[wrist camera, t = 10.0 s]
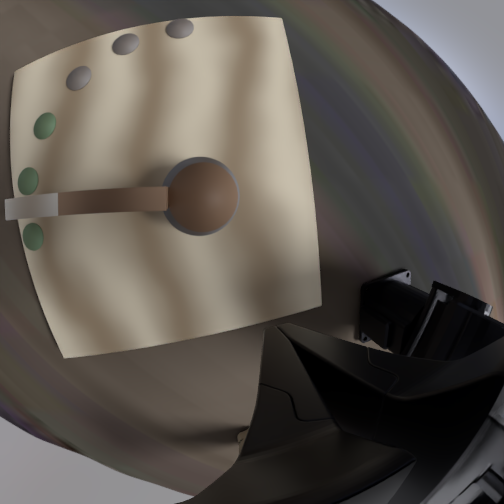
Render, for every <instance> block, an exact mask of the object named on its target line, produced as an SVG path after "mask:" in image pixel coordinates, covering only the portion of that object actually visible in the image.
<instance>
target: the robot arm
mask: <svg viewBox="0 0 504 504" xmlns="http://www.w3.org/2000/svg"><path fill="white" fill-rule="evenodd" d="M406 274H407V275H406ZM410 280H411V272H410V271H409V270H407V269H406V270H403V271H400V272H397V273H394V274H391V275H389V276H386V277H383V278H380V279H377V280H374V281H371V282H368V283H365V284H363V286H362V287H361V309H360V334H359V340H360V341H361V342H362V343H365V342H368V341H370V340H373V341H374V342H375V343H376V344H378V345H379V346H380V347H382V348H383V349H388V350H390V351H391V352H392V353H389V352H385V351H381V350H377V349H373V348H370V347H368V348H367V347H366V346H362V345H359V344H355V343H352V342H348V341H345V340H342V339H338V338H335V337H332V336H328V335H325V334H322V333H319V332H315V331H312V330H309V329H306V328H303V327H300V326H297V325H294V324H291V323H284V324H280V325H277V327H276V326H273V327H269V328H265V329H264V332H263V343H262V354H261V365H260V375H259V386H258V394H257V400H256V406H255V409H254V413H253V417H252V420H251V423H250V426H249V429H248V432H247V435H246V438H245V440H244V443H243V446H242V449H241V451H240V454H239V456H238V458H237V460H236V462H235V463H234V465H233V466H232V467H231V468H230V469H229V470H227V471H226V472H225V473H224V474H223V475H222V476H220V477H219V478H218V479H217V480H216V481H214V482H213V483H212V484H211V485H209V486H208V487H207V488H206V489H204V490H203V491H202V492H201V493H199V494H198V495H196V496H195V497H193V498H191V499H189V500H186V501H184V502H180V503H176V504H504V324H503V323H501V322H499V321H497V320H495V319H493V318H491V317H489V316H490V313H491V311H492V308H493V307H492V306H490V305H489V304H487V303H485V302H483V301H481V300H479V299H477V298H474V297H472V296H470V295H468V294H466V293H463V292H461V291H458V290H456V289H454V288H451V287H449V286H446V285H444V284H441V283H439V282H436V281H433V284H432V289H431V291H430V294H428V293H426V292H424V291H422V290H419V289H417V288H415V287H413V286H411V285H410ZM366 288H367V290H366ZM364 337H365V338H364ZM393 353H394V354H393Z"/></svg>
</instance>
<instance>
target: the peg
mask: <svg viewBox="0 0 504 504" xmlns="http://www.w3.org/2000/svg"><path fill="white" fill-rule="evenodd" d="M237 202H238V191H237V187H236V184H235V182H234V180H233V178H232V176H231V175H230V174H229V173H228V172H227V171H226V170H225V169H223V168H222V167H220V166H218V165H216V164H213V163H208V162H199V163H194V164H191V165H189V166H187V167H185V168H184V169H182V170H181V171H180V172H179V173H178V174H177V175H176V176H175V177H174V179H173V181H172V182H171V185H170V187H166V186H165V187H133V188H112V189H96V190H83V191H71V192H60V193H51V194H42V195H33V196H25V197H18V198H11V199H5V218H6V220H15V219H26V218H37V217H49V216H62V215H77V214H94V213H115V212H141V211H166V210H167V209H168V207H169V208H170V211H171V213H172V215H173V217H174V218H175V220H176V221H177V222H178V223H179V224H180V225H181V226H183V227H185V228H186V229H188V230H191V231H195V232H210V231H213V230H216V229H218V228H220V227H222V226H223V225H224V224H226V223H227V222H228V221H229V220H230V218H231V217H232V215H233V214H234V212H235V209H236V207H237Z"/></svg>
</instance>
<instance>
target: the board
mask: <svg viewBox="0 0 504 504" xmlns="http://www.w3.org/2000/svg"><path fill="white" fill-rule="evenodd" d="M10 154H11V171H12V182H13V191H14V198H18V197H25V196H33V195H42V194H51V193H60V192H71V191H83V190H96V189H112V188H133V187H165V186H166V187H170V185H171V182H172V181H173V179H174V177H175V176H176V175H177V174H178V173H179V172H180V171H181V170H182V169H184V168H185V167H187V166H189V165H191V164H194V163H199V162H208V163H213V164H216V165H218V166H220V167H222V168H223V169H225V170H226V171H227V172H228V173H229V174H230V175H231V176H232V178H233V180H234V182H235V184H236V187H237V191H238V202H237V207H236V209H235V212H234V214H233V215H232V217H231V218H230V220H229V221H228V222H227V223H226V224H224V225H223V226H222V227H220V228H218V229H216V230H213V231H210V232H195V231H191V230H188V229H186V228H185V227H183V226H181V225H180V224H179V223H178V222H177V221H176V220H175V218H174V217H173V215H172V213H171V211H170V208H169V207H168V209H167V210H166V211H141V212H115V213H94V214H77V215H62V216H49V217H37V218H26V219H18V223H19V228H20V233H21V238H22V242H23V247H24V251H25V255H26V259H27V262H28V266H29V269H30V273H31V276H32V279H33V283H34V286H35V289H36V292H37V295H38V298H39V300H40V303H41V306H42V309H43V311H44V314H45V316H46V319H47V321H48V324H49V326H50V329H51V331H52V333H53V336H54V338H55V340H56V342H57V344H58V347H59V349H60V351H61V353H62V355H63V357H64V358H72V357H81V356H90V355H98V354H105V353H113V352H120V351H126V350H133V349H139V348H145V347H151V346H156V345H162V344H167V343H173V342H178V341H183V340H188V339H193V338H198V337H202V336H207V335H212V334H216V333H220V332H225V331H229V330H233V329H238V328H242V327H246V326H250V325H254V324H258V323H262V322H265V321H269V320H273V319H277V318H280V317H284V316H288V315H291V314H295V313H298V312H302V311H305V310H309V309H312V308H315V307H319V306H322V299H321V279H320V263H319V249H318V237H317V226H316V215H315V205H314V196H313V187H312V179H311V171H310V163H309V156H308V149H307V142H306V136H305V129H304V123H303V117H302V111H301V105H300V100H299V94H298V89H297V84H296V79H295V74H294V69H293V64H292V60H291V55H290V51H289V46H288V42H287V38H286V33H285V29H284V25H283V21H282V18H272V17H253V16H219V17H201V18H189V19H176V20H172V21H165V22H158V23H153V24H147V25H142V26H137V27H132V28H128V29H124V30H120V31H116V32H112V33H108V34H105V35H101V36H98V37H95V38H92V39H89V40H86V41H83V42H80V43H77V44H74V45H72V46H69V47H66V48H64V49H61V50H59V51H56V52H54V53H52V54H49V55H47V56H45V57H43V58H41V59H38V60H36V61H34V62H32V63H30V64H28V65H26V66H24V67H22V68H20V69H19V70H17V71H15V73H14V81H13V89H12V100H11V117H10Z"/></svg>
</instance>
